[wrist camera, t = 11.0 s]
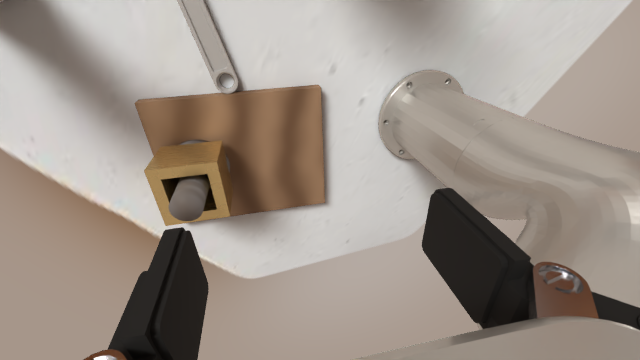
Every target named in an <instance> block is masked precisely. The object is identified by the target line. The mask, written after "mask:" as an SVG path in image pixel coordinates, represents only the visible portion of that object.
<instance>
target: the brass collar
mask: <svg viewBox="0 0 640 360" xmlns="http://www.w3.org/2000/svg"><path fill="white" fill-rule="evenodd" d="M144 172H145V174H146V177H147V179H148V182H149V184H150V187H151V190H152V192H153V195H154V197H155V200H156V202H157V205H158V207H159V210H160V212H161V215H162V218H163V220H164V223H165V225H166V226H168V225H175V224H181V223H188V222H195V221H202V220H209V219H216V218H223V217H229V216H230V213H231V204H232V195H233V186H232V182H231V178H230V173H229V169H228V164H227V160H226V155H225V151H224V146H223V142H222V140H221V141H212V142H202V143H193V144H184V145H174V146H165V147H160V148H159V150H158V151H157V153H156V154H155V156H154V157H153V159H152V160H151V161H150V163H149V164H148V166H147V167H146V169H145V170H144ZM202 174H208V177H209V181H210V186H209V189H208V193H207V197H206V201H205V205H204V209H203V213H202V215H201V216H200V217H199V218H198V219H196V220H193V221H181V220H178V219H176V218H175V217H173V216H172V215H171V213H170V212H169V203H170V201H171V198H172V196H173V194H174V192H175V189H176V187H177V185H178V182H179V180H180V178H181V177H186V176H194V175H202Z"/></svg>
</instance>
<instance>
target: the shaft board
mask: <svg viewBox="0 0 640 360" xmlns="http://www.w3.org/2000/svg"><path fill="white" fill-rule="evenodd" d="M135 106H136V109H137V111H138V114H139V117H140V120H141V122H142V125H143V128H144V131H145V133H146V136H147V139H148V142H149V144H150V147H151V150H152V153H153V155H154V156H155V154H156V153H157V151H158V150H159V148H160V147H165V146H174V145H184V144H193V143H202V142H212V141H221V140H222V142H223V146H224V151H225V155H226V160H227V164H228V169H229V173H230V178H231V182H232V186H233V195H232V204H231V213H230V216H237V215H243V214H250V213H257V212H264V211H271V210H278V209H284V208H291V207H298V206H305V205H312V204H319V203H325V191H324V163H323V134H322V106H321V87H320V86H319V85H310V86H298V87H286V88H274V89H262V90H250V91H238V92H232V93H229V94H226V93H214V94H202V95H190V96H178V97H166V98H154V99H142V100H138V101H137V102H135ZM209 186H210V181H209V177H208V174H202V175H194V176H186V177H181V178H180V180H179V182H178V185H177V187H176V189H175V192H174V194H173V196H172V198H171V201H170V203H169V212H170V213H171V215H172V216H173V217H175V218H176V219H178V220H181V221H193V220H196V219H198V218H199V217H200V216H201V215H202V213H203V209H204V205H205V201H206V197H207V193H208V189H209ZM230 216H229V217H230ZM195 222H196V221H195ZM188 223H189V222H188ZM181 224H182V223H181Z"/></svg>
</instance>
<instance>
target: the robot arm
mask: <svg viewBox="0 0 640 360" xmlns="http://www.w3.org/2000/svg"><path fill="white" fill-rule="evenodd" d="M407 83H408V84H407ZM406 84H407V85H406ZM384 121H385V122H384ZM378 126H379V133H380V137H381V139H382V141H383V143H384V145H385V146H386V147H387V148H388V149H389V150H390V151H391V152H392V153H393V154H395V155H397V156H398V157H401V158H405V159H416V160H418V161H419V162H420V163H421V164H422V165H423V166H424V167H425V168H426V169H428V170H429V171H430V172H431V173H432V174H433V175H434V176H435V177H436V178H438V179H439V180H440V181H441V182H442V183H443V184H444V185H445V186H447V187H448V188H444V189H438V190H436V191H435V192H434V194H432V195H431V198H430V203H429V209H428V214H427V219H426V225H425V230H424V235H423V240H422V248H423V251H424V253H425V254H426V255H427V257H428V258H429V260H430V261H431V262H432V264H433V265H434V267H435V268H436V269H437V271H438V272H439V274H440V275H441V276H442V278H443V279H444V280H445V282H446V283H447V285H448V286H449V287H450V289H451V290H452V292H453V293H454V294H455V296H456V297H457V299H458V300H459V302H460V303H461V304H462V306H463V307H464V309H465V310H466V311H467V313H468V314H469V315H470V317H471V318H472V319H473V321H474V322H475V323H477V325H478V328H479V330H478V331H474V332H469V333H465V334H460V335H456V336H452V337H447V338H443V339H438V340H434V341H430V342H425V343H421V344H417V345H413V346H409V347H404V348H400V349H395V350H391V351H387V352H382V353H378V354H374V355H370V356H366V357H361V358H357V359H352V360H640V152H636V151H631V150H627V149H622V148H617V147H613V146H609V145H606V144H602V143H599V142H595V141H591V140H587V139H584V138H581V137H578V136H574V135H572V134H569V133H565V132H563V131H560V130H557V129H554V128H551V127H548V126H546V125H543V124H540V123H538V122H535V121H533V120H530V119H527V118H524V117H522V116H519V115H517V114H514V113H511V112H509V111H506V110H504V109H501V108H498V107H496V106H493V105H491V104H488V103H485V102H483V101H480V100H478V99H475V98H472V97H470V96H467V95H465V94H464V93H463V90H462V88H461V86H460V84H459V83H458V82H457V81H456V80H455V79H454V78H453V77H452V76H450V75H448V74H447V73H444V72H441V71H436V70H424V71H420V72H416V73H413V74H411V75H409V76H408V77H406V78H404V79H403V80H402V81H400V82H399V83H398V84H397V85H396V86H395V87H394V88H393V89H392V90H391V91H390V93H389V94H388V96H387V97H386V99H385V101H384V103H383V105H382V107H381V111H380V114H379V122H378ZM483 215H485V216H488V217H491V218H496V219H505V220H520V219H527V221H526V225H525V227H524V229H523V231H522V233H521V234H520V235H519V237H518V238H517V240H516V243H514V242H512V241H511V240H510V239H509V238H508V237H507V236H506V235H505V234H504V233H502V232H501V231H500V230H499V229H498V228H497V227H496V226H494V225H493V224H492V223H491V222H490V221H489V220H488V219H487V218H485V217H484V216H483ZM207 295H208V282H207V278H206V276H205V273H204V270H203V267H202V264H201V261H200V258H199V255H198V252H197V249H196V246H195V243H194V240H193V238H192V235H191V232H190V231H185V229H184V228H182V227H181V228H175V229H168V230H165V231H164V233H163V235H162V237H161V240H160V242H159V245H158V247H157V250H156V252H155V255H154V257H153V260H152V262H151V265H150V267H149V269H148V271H144V272H142V273H141V274H140V276H139V278H138V280H137V283H136V285H135V287H134V290H133V292H132V294H131V296H130V299H129V301H128V303H127V306H126V308H125V310H124V313H123V315H122V317H121V320H120V322H119V324H118V327H117V329H116V331H115V334H114V336H113V338H112V341H111V343H110V345H109V348H108V350H102V351H100V352H97V353H94V354H92V355H90V356H89V357H87V358H85V359H84V360H197V358H198V352H199V345H200V340H201V333H202V327H203V320H204V315H205V308H206V302H207Z"/></svg>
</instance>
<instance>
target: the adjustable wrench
mask: <svg viewBox="0 0 640 360" xmlns="http://www.w3.org/2000/svg"><path fill="white" fill-rule="evenodd" d="M177 1H178V4H179V6H180V8H181V10H182V12H183V15H184V17H185V19H186V21H187V24H188V26H189V28H190V30H191V33H192V35H193V37H194V39H195V41H196V44H197V46H198V48H199V50H200V53H201V55H202V57H203V59H204V61H205V64H206V66H207V68H208V70H209V73H210V75H211V77H212V79H213V82H214V84H215V86H216V87H217V89H218V90H219V91H220V92H222V93H226V94H229V93H232V92H234V91H235V90H236V89H237V86H238V78H237V75H236V73H235V70H234V68H233V66H232V64H231V61H230V59H229V57H228V54H227V52H226V50H225V47H224V45H223V43H222V41H221V38H220V36H219V34H218V31H217V29H216V27H215V24H214V22H213V20H212V18H211V15H210V13H209V11H208V8H207V6H206V4H205V2H204V0H177ZM222 74H229V75H231V76H232V77H233V79H234V84H233V86H232V87H230V88H224V87H223V86H221V84H220V82H219V78H220V76H221V75H222Z"/></svg>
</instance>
